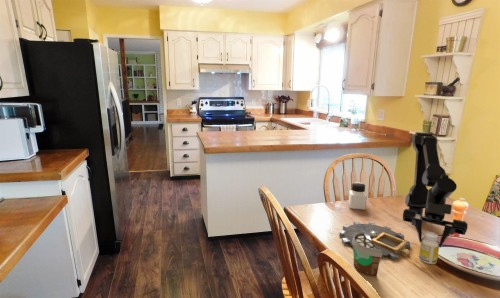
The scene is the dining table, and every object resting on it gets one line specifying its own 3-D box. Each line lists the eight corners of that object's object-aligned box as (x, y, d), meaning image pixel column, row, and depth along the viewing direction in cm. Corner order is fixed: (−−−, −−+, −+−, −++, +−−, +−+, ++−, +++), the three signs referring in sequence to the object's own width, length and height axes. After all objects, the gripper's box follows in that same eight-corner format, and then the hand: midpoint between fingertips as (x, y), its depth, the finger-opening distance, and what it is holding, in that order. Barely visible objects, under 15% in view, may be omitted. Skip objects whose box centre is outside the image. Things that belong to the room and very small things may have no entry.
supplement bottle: (434, 257, 100) (438, 231, 98) (438, 266, 95) (443, 239, 93) (417, 254, 102) (420, 229, 100) (420, 262, 97) (424, 236, 95)
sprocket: (359, 219, 128) (360, 212, 127) (420, 242, 109) (422, 234, 109) (326, 238, 112) (327, 230, 111) (391, 269, 93) (392, 259, 93)
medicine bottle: (365, 209, 138) (367, 186, 136) (350, 208, 140) (352, 185, 137) (362, 204, 145) (365, 181, 142) (348, 202, 146) (350, 180, 144)
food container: (343, 257, 100) (346, 231, 98) (360, 256, 100) (363, 230, 98) (360, 280, 88) (363, 251, 86) (379, 279, 88) (382, 250, 86)
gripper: (406, 187, 102) (399, 228, 95) (472, 199, 92) (468, 245, 85) (406, 201, 110) (399, 239, 103) (466, 213, 100) (462, 256, 93)
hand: (430, 244), depth 96 cm, fingers closed on supplement bottle, 5 cm apart
